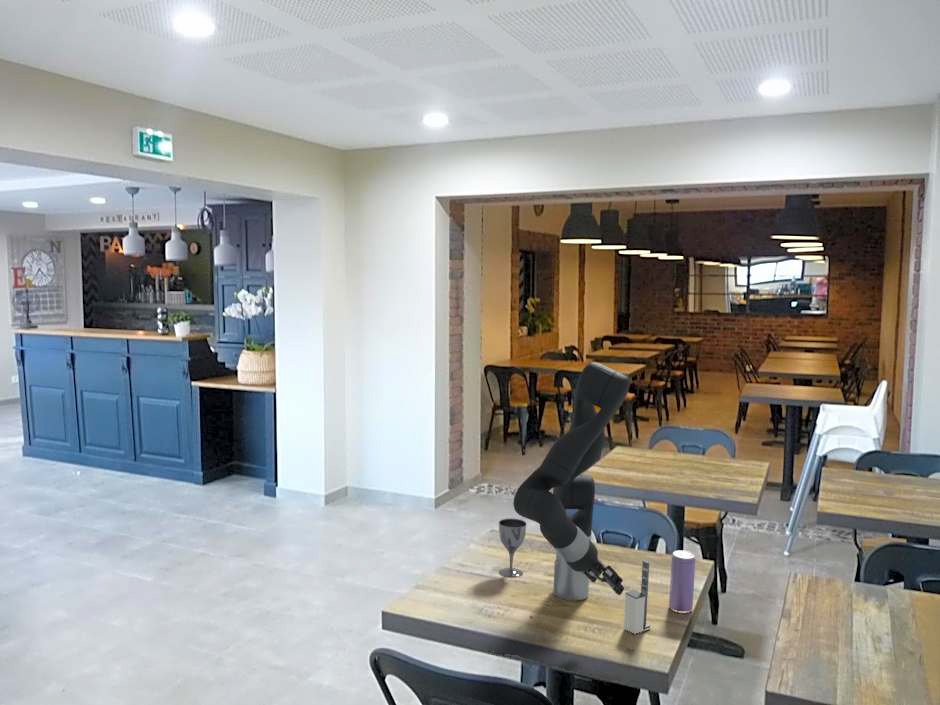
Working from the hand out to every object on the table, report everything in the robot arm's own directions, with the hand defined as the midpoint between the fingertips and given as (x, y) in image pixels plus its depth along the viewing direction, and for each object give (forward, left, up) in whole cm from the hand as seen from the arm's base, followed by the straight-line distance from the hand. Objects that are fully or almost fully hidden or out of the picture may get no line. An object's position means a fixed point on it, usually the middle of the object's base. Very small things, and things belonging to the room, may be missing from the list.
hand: (608, 585), depth 179 cm
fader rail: (+8, +10, -14) cm, 19 cm away
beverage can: (+17, +24, -14) cm, 33 cm away
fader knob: (+6, +7, -14) cm, 17 cm away
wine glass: (-31, +33, -14) cm, 47 cm away
